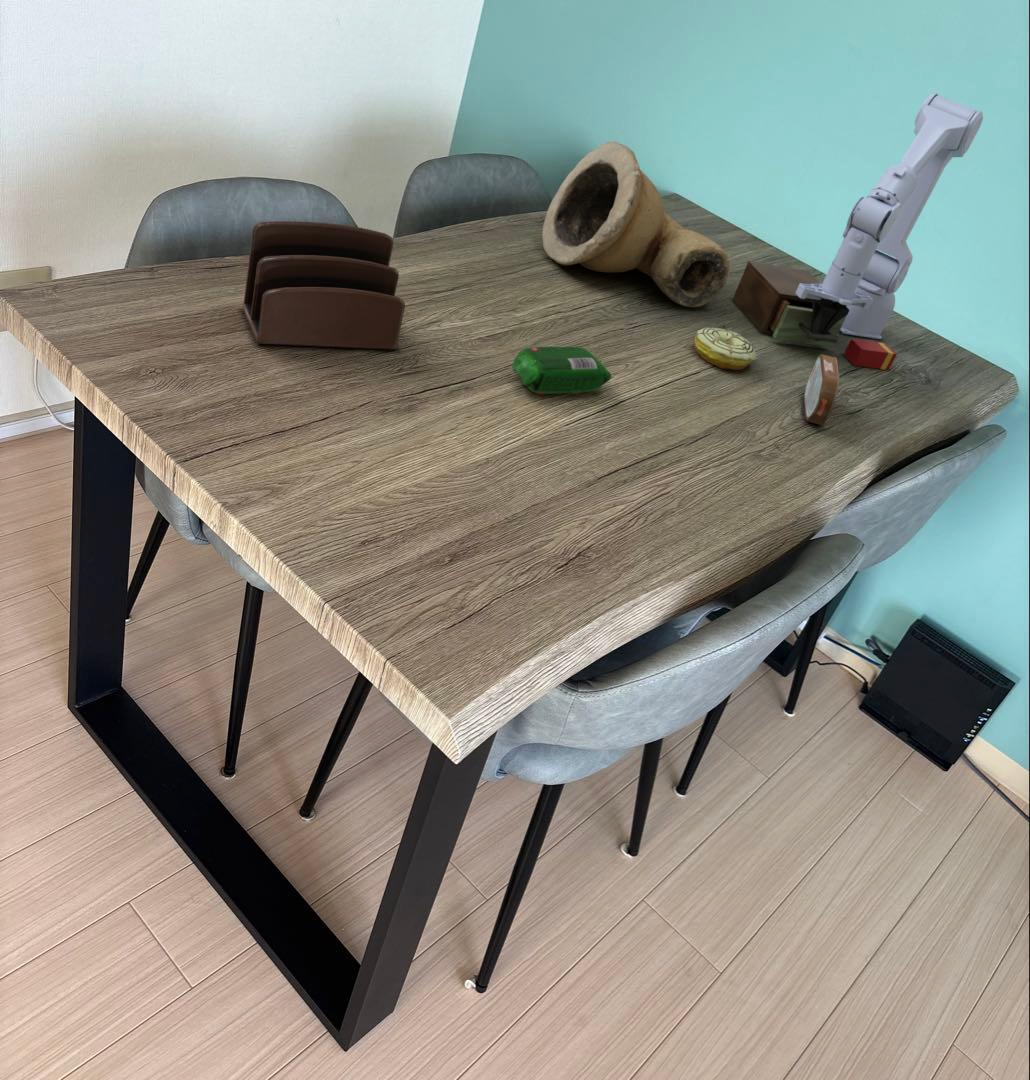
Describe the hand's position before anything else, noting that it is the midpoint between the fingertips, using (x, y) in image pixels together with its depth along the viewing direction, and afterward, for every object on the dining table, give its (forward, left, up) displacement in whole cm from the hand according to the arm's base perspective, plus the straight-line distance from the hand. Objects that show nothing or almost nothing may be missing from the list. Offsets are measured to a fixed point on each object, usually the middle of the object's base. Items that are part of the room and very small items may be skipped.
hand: (814, 338), depth 184 cm
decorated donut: (+21, +6, -3) cm, 22 cm away
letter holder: (+90, +14, -3) cm, 91 cm away
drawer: (0, -6, -2) cm, 6 cm away
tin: (+11, +21, -3) cm, 24 cm away
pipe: (+28, -24, -3) cm, 37 cm away
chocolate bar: (-13, 0, -3) cm, 13 cm away
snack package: (+56, +22, -3) cm, 60 cm away
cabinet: (0, -13, -3) cm, 13 cm away
